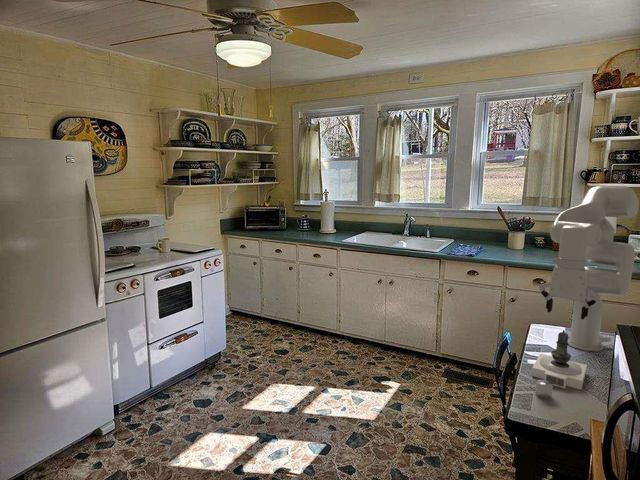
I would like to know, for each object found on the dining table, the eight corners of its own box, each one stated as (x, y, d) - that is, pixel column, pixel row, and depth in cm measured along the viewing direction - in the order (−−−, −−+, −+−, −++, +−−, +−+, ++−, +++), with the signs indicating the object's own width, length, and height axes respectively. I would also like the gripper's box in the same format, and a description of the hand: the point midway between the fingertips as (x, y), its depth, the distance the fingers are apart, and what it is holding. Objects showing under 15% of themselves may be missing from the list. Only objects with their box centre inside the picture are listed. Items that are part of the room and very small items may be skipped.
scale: (539, 361, 145) (540, 351, 144) (586, 373, 136) (587, 363, 136) (529, 379, 132) (530, 368, 131) (580, 393, 123) (581, 382, 123)
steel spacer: (546, 391, 124) (547, 379, 123) (554, 399, 120) (556, 387, 119) (532, 391, 124) (533, 379, 123) (540, 399, 120) (541, 387, 119)
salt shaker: (573, 369, 131) (577, 334, 129) (553, 367, 132) (557, 332, 131) (566, 361, 137) (570, 327, 135) (547, 359, 138) (550, 326, 136)
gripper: (538, 261, 132) (533, 311, 135) (601, 270, 121) (595, 324, 124) (544, 258, 138) (540, 306, 141) (605, 266, 126) (599, 318, 129)
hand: (565, 314), depth 132 cm, fingers open, 9 cm apart
